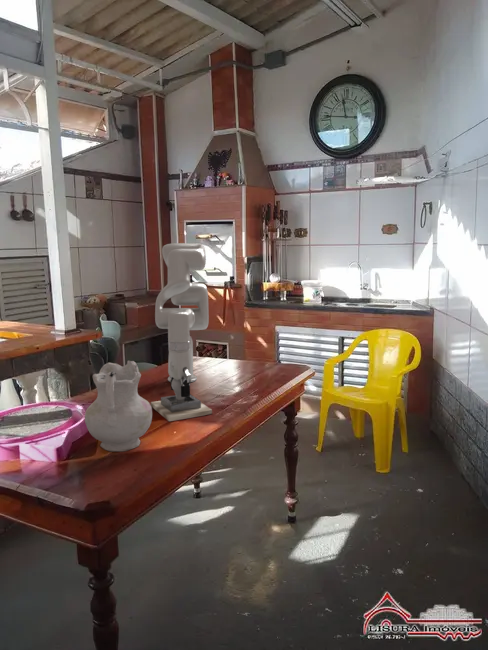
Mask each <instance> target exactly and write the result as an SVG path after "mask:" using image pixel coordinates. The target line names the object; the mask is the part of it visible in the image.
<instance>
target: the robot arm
mask: <svg viewBox="0 0 488 650" xmlns="http://www.w3.org/2000/svg"><path fill="white" fill-rule="evenodd" d="M161 252H162V253H161V255H162V257H163V260H164V263H165V265H166V267H167V283H166V285H165V286H164V287H163V288H162V289H161V290H160V292H159V293H158V295H157V296H156V300H155V309H154V311H155V312H154V318H155V319H154V320H155V322H154V323H155V325H156V327H158V329H163V330H167V338H168V340H167V341H168V342H167V344H168V362H167V364H168V366H167V372H168V375H169V376H168V377H167V381H168V382H170V384H171V383H172V380H173V379H174V378H175V379H176V380H179V379H180V381H181V384H182V386H181V397H187V396H190V394H191V383H193V382H196V381H197V379H198V378H197V375H195V374H194V346H193V345H194V344H193V343H194V342H193V338H192V336H190V335H191V333H190V331H200V330H201V331H203V330H207V328H208V326H209V320H210V319H209V318H210V316H209V290H208V288H207V286H206V284H205V283H202V282H191V271H203V270H204V269H205V267H206V264H207V263H206V261H207V259H206V257H207V256H206V249H205V246H204V245H203V244H202V243H197V242H195V243H193V242H191V243H190V242H189V243H188V242H187V243H183V242H181V243H179V242H177V243H176V242H175V243H167V244H165V245H163V246H162V249H161ZM168 300H171V304H173V305H174V306H197V307H171V308H170V307H164V304H165V303H166V302H167V301H168ZM183 380H185V381H183ZM170 390H171V391H174V390H173V388H172V386H171V385H170Z"/></svg>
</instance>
